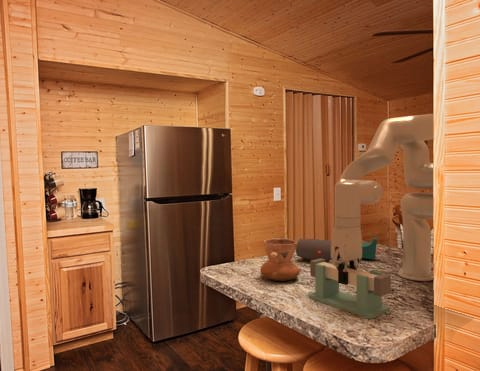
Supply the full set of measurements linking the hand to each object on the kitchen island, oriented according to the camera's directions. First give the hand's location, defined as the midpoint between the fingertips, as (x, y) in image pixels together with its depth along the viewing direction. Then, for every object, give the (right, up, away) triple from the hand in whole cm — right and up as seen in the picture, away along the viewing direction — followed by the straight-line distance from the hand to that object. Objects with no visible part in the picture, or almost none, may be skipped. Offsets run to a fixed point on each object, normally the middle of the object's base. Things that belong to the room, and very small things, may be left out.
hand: (347, 281), depth 112 cm
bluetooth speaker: (+4, -5, +47) cm, 48 cm away
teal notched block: (+23, -4, +59) cm, 64 cm away
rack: (0, -7, 0) cm, 7 cm away
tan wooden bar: (0, -1, 0) cm, 1 cm away
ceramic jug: (-17, -6, +27) cm, 33 cm away
